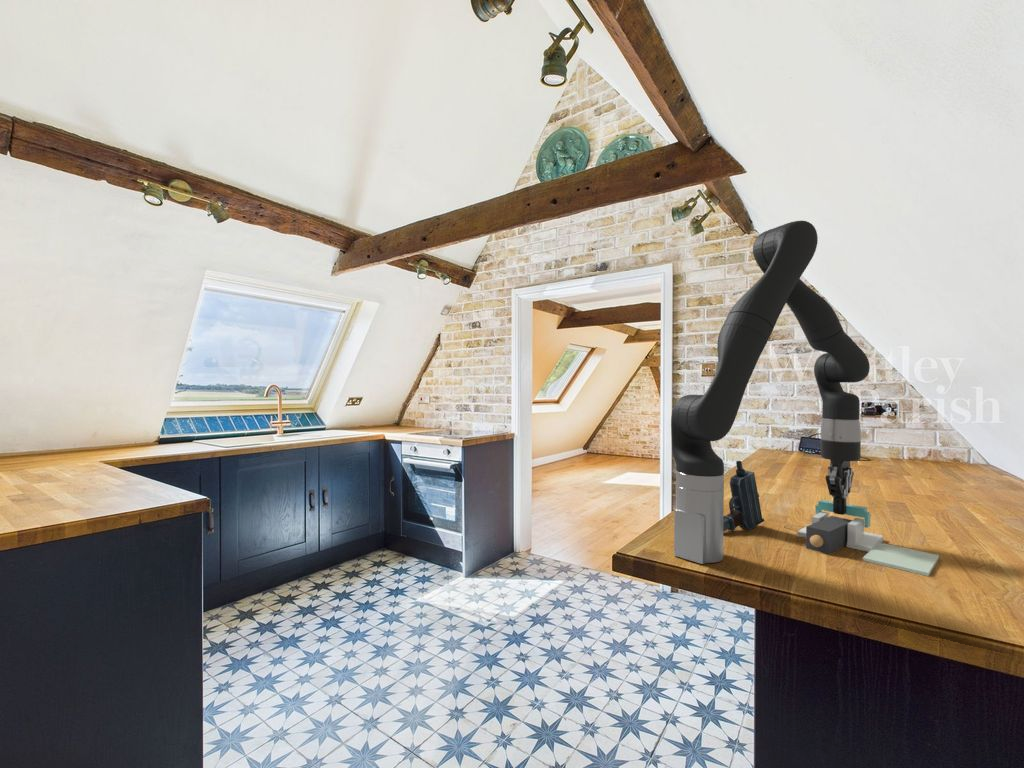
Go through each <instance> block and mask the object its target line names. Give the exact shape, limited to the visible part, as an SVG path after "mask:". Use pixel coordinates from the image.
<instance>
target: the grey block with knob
mask: <svg viewBox="0 0 1024 768" xmlns="http://www.w3.org/2000/svg"><path fill="white" fill-rule="evenodd" d="M852 520H853V519H849V518H843V517H839V516H835V515H834V516H833V515H830V516H828V518H826V519H823V520H821V521H818V522H816V523H813V524H811V523H810V524H811V525H809V524H807V525H806V526H805V527H806V538H805V548H806V549H807V550H811V551H815V552H818V553H822V554H827V555H831V554H833V553H835V552H836V551H839V550H840V549H843V548H844V547H847V540H848V523H850V522H851V521H852Z"/></svg>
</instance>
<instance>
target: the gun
mask: <svg viewBox="0 0 1024 768" xmlns="http://www.w3.org/2000/svg"><path fill="white" fill-rule="evenodd" d="M735 463H736V464H735V465H736V469H735V474H734V475H733V476H730V479H729V488H730V492H731V493H730V494H731V498H730V499H729V501H728V506H729V507H728V508H729V512H730V513H727V514H726V515H723V533H724V532H725V531H727V530H728V531H732V532H733V531H735V530H736V528H737V527H739V528H741V529H745V530H748V531H751V530H752V529H754V528H755V527H757V526H759V525H760V524H762V523H764V522H765V518H763V516H762V510H761V504H760V499H759V498H760V494H759V492H758V485H757V481H756V479H757V478H756V475H755V474H756V473H755V471H750V470H745V469H744V468H743V462H742V460H737V461H735Z"/></svg>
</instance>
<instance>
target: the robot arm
mask: <svg viewBox="0 0 1024 768" xmlns="http://www.w3.org/2000/svg"><path fill="white" fill-rule="evenodd" d="M818 239H819V238H818V233H817V230H816V227H815V225H813V223H811V222H809V221H807V220H796V221H791V222H788V223H787V222H786V223H784V224H781V225H779V226H776V227H773V228H770V229H768V230H765V231H763V232H761V233H760V234H758V236H757V237H756V238H755V239H754V242H753V245H752V255H753V258H754V260H755V262H756V264H757V266H758V268H759V269H760V270H761V272H762V273H763V275H762V276H761V277H760V278H759V279H758V280H757V281H756V282H755V283H754V284H753V285H752V286H751V287H750V288H749V289H748V290H747V291H746V292H745V293H744V294H743V295H742V296H741V297H740V298H739V299H738V300H737V302H735V303H734V305H733V306H732V307H731V309H730V310H729V312H728V314H727V316H726V318H725V321H724V323H723V324H722V326H721V329H720V330H719V333H718V336H717V347H716V348H717V368H716V372H715V374H714V376H713V378H712V381H711V382H710V385H709V386H708V388H707V390H706V392H705V393H704V394H688V395H683V396H681V397H680V398H679V399H678V400H677V401H676V402H675V403H674V405H673V407H672V411H671V416H670V417H671V418H670V420H671V421H670V429H671V451H672V452H671V453H672V456H673V459H674V462H675V471H676V472H675V510H674V514H673V515H674V517H673V519H674V520H673V521H674V522H673V523H674V525H673V529H674V530H673V532H674V533H673V537H674V538H673V556H675V557H678V558H681V559H684V560H687V561H691V562H694V563H697V564H700V565H704V564H711V563H712V564H713V563H719V562H721V561H723V560H724V532H723V516H725V515H724V510H725V509H724V506H725V504H724V503H725V502H724V499H725V498H724V494H725V493H724V492H725V491H724V489H725V463H724V461H723V459H722V458H721V457H720V456H718V454H717V453H716V452H715V450H714V448H713V447H712V442H717V441H719V440H721V439H723V438H725V437H726V436H727V435H728V434H729V432H730V430H731V428H732V427H733V425H734V423H735V420H736V418H737V415H738V412H739V409H740V407H741V404H742V400H743V398H744V395H745V392H746V389H747V386H748V383H749V381H750V380H751V377H752V375H753V373H754V371H755V368H756V365H757V364H758V361H759V359H760V358H761V356H762V353H763V351H764V349H765V347H766V346H767V343H768V341H769V339H770V337H771V335H772V333H773V331H774V329H775V326H776V324H777V321H778V320H779V317H780V316H781V313H782V311H783V309H784V307H785V305H787V306H788V307H789V309H790V311H791V312H792V314H794V315H793V316H795V318H796V320H797V322H798V324H799V326H800V327H801V330H802V332H803V334H804V337H805V338H806V340H807V342H808V344H809V346H810V347H811V349H813V350H815V351H817V352H818V351H819V352H824V353H823V354H820V355H819V356H818V357H817V359H816V360H815V363H814V366H813V375H814V377H815V381H816V384H817V387H818V390H819V391H818V392H819V394H820V397H821V401H822V406H821V407H822V408H821V410H822V411H821V412H822V414H821V417H822V418H821V425H820V457H821V458H823V459H826V460H829V461H830V462H829V466H828V467H827V474H826V475H825V481H826V486H827V489H828V493H829V496H831V497H832V501H833V512H832V513H833V514H836V515H840V516H841V515H842V516H844V515H846V514H845V513H846V504H847V498H848V497H849V494H850V493H851V488H852V484H853V479H854V470H853V467H851V463H850V462H858V461H861V456H862V455H861V452H862V451H861V450H862V449H861V447H862V445H861V440H862V438H861V437H862V435H861V429H862V428H861V422H860V411H861V409H860V398H859V396H858V395H856V394H854V393H850V392H846V391H845V390H844V389H843V387H842V384H841V383H858V382H862V381H863V380H865V379H866V378H867V377H868V375H869V373H870V370H871V369H870V368H871V366H870V362H869V359H868V357H867V355H866V353H865V352H864V351H863V349H861V347H860V346H859V345H858V343H856V342H855V341H854V340H853V339H852V338H851V337H850V336H849V334H847V333H846V332H845V329H844V327H843V325H842V324H841V322H840V319H839V318H838V316H837V313H836V312H835V310H834V308H833V307H832V306H831V304H830V303H829V302H828V301H827V300H826V299H825V298H824V297H822V296H821V295H820V294H818V293H817V292H816V291H814V290H813V289H812V288H810V286H808V285H807V284H806V283H805V282H804V281H803V280H802V279H801V276H802V275H803V274H804V272H805V271H806V269H807V268H808V266H809V264H810V263H811V261H812V260H813V257H814V255H815V253H816V250H817V247H818Z"/></svg>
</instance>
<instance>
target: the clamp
mask: <svg viewBox="0 0 1024 768" xmlns="http://www.w3.org/2000/svg"><path fill="white" fill-rule="evenodd" d="M815 514H816V513H815ZM815 514H814V515H813V516H811V523H809V524H808V525H811V524H813V523H816V522H818V521H821V520H823V519H826V518H828V517H829V512H828V511H821V512H819V513H818V514H816V515H815ZM851 520H852V521H851V522H850V523H848V540H847V545H846V547H847V548H849V549H854V550H858V551H863V552H867V553H868V552H869V551H870V550H871V549H872V548H873V547H874V546H875V545H876V544H878V543H883V542H884V535H880V534H876V533H871V532H865V531H864V530H865V527H864V518H860V517H856V518H854V519H851ZM796 536H797V537H800V538H801V537H802V538H805V539H806V526H804V527H803V528H801V529H798V530H797V532H796Z"/></svg>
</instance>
